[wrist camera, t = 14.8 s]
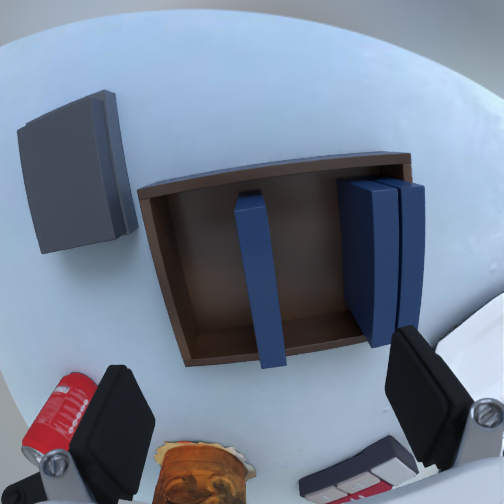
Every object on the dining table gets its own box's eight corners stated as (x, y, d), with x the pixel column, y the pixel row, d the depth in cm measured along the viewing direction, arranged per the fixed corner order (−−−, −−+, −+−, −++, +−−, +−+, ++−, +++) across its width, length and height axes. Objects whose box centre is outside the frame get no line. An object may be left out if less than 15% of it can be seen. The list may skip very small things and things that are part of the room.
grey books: (38, 124, 20) (10, 123, 16) (115, 93, 20) (92, 85, 16) (61, 243, 24) (37, 258, 20) (138, 227, 23) (119, 242, 19)
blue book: (238, 192, 22) (233, 210, 15) (260, 188, 22) (265, 205, 15) (258, 314, 25) (261, 369, 18) (277, 311, 25) (286, 365, 18)
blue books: (335, 178, 22) (371, 191, 15) (377, 174, 21) (424, 185, 15) (343, 300, 25) (371, 349, 18) (380, 293, 25) (416, 337, 18)
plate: (409, 444, 33) (413, 453, 32) (412, 323, 26) (421, 334, 25) (523, 379, 31) (529, 386, 30) (549, 252, 24) (559, 258, 22)
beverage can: (97, 373, 28) (52, 456, 17) (107, 405, 30) (73, 484, 18) (59, 365, 28) (10, 438, 17) (71, 397, 30) (32, 467, 18)
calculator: (298, 500, 32) (398, 458, 28) (297, 476, 36) (390, 434, 32) (335, 513, 34) (421, 476, 31) (333, 493, 38) (413, 456, 35)
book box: (157, 181, 22) (136, 189, 18) (382, 151, 21) (410, 153, 17) (194, 334, 26) (185, 367, 22) (386, 305, 26) (407, 332, 21)
